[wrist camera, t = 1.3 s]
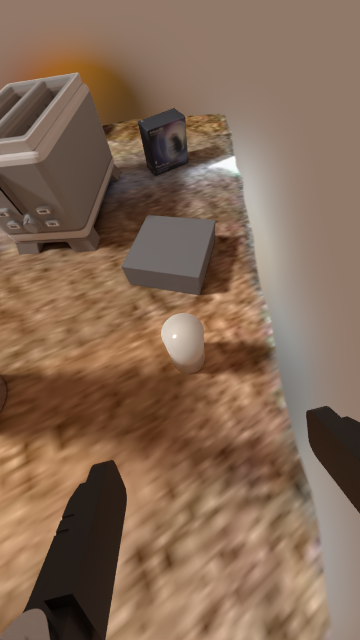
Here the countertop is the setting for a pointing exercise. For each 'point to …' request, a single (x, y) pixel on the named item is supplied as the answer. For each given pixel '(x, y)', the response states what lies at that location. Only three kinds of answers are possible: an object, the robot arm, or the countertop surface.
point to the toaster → (52, 163)
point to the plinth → (171, 254)
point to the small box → (164, 141)
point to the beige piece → (184, 342)
